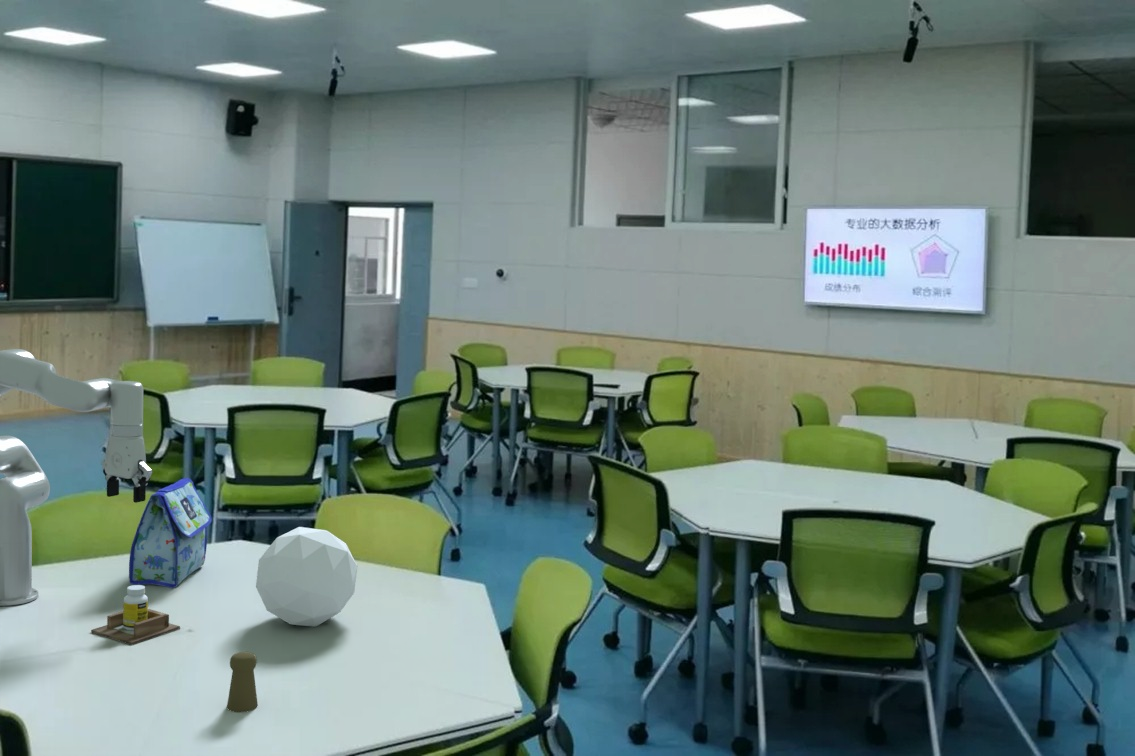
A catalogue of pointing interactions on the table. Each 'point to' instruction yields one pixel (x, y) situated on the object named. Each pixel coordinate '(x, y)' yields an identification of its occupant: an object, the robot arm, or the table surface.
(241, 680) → the olive game pawn
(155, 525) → the lunch bag
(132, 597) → the supplement bottle
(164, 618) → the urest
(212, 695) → the table surface
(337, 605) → the geometric polyhedron
